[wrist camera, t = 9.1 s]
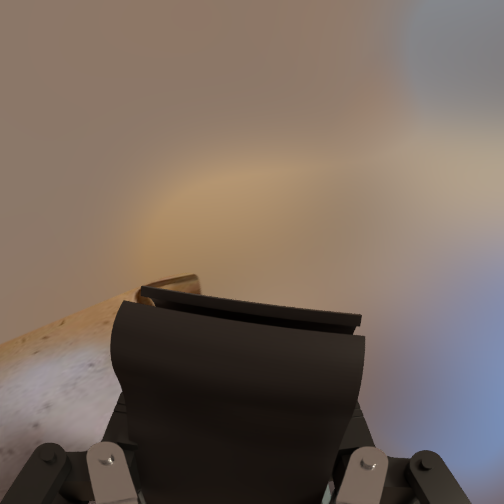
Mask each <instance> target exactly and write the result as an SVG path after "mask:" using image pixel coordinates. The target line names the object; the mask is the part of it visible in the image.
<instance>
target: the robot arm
mask: <svg viewBox="0 0 504 504" xmlns="http://www.w3.org/2000/svg"><path fill="white" fill-rule="evenodd" d="M138 449H139V448H138V443H135V442H132V441H130V440H129V437H128V424H127V411H126V404H125V399H124V395H123V392H122V393H121V394H120V396H119V399H118V401H117V405H116V406H115V409H114V412H113V414H112V416H111V418H110V421H109V424H108V426H107V429H106V431H105V434H104V436H103V439H102V441H101V442H99V443H96V444H95V445H93V446H92V447H91V448H90V449H89V450H88V451H85V452H65V451H64V449H63V448H62V447H61V446H60V445H58V444H55V443H45V444H42V445H40V446H39V447H37V448H36V450H35V451H34V452H33V454H32V455H31V457H30V458H29V460H28V461H27V463H26V464H25V466H24V467H23V469H22V470H21V472H20V473H19V475H18V476H17V478H16V479H15V481H14V482H13V484H12V485H11V487H10V489H9V490H8V492H7V493H6V495H5V496H4V498H3V500H2V501H1V503H0V504H88V503H89V501H96V504H147V502H146V499H145V497H144V494H143V492H142V490H141V488H140V487H141V482H140V478H139V473H138V468H137V463H136V458H135V453H134V452H133V451H134V450H138ZM329 481H333V482H334V486H335V489H334V491H333V493H332V496H331V498H330V501H329V504H471V503H470V501H469V499H468V497H467V496H466V494H465V493H464V491H463V490H462V488H461V487H460V485H459V484H458V482H457V481H456V479H455V478H454V476H453V475H452V473H451V472H450V470H449V469H448V467H447V466H446V465H445V463H444V461H443V460H442V458H441V457H440V456H439V455H438V454H437V453H435V452H432V451H428V450H423V451H419V452H417V453H415V454H414V455H413V456H412V458H411V459H408V458H393V457H389V456H386V455H385V453H384V452H382V451H381V450H380V449H378V448H376V447H375V445H374V443H373V439H372V437H371V434H370V431H369V429H368V426H367V424H366V421H365V419H364V417H363V413H362V411H361V410H360V405H359V403H358V400H357V403H356V406H355V410H354V413H353V415H352V418H351V420H350V422H349V424H348V427H347V429H346V431H345V434H344V436H343V439H342V442H341V444H340V447H339V450H338V453H337V456H336V460H335V463H334V466H333V469H332V473H331V476H330V479H329Z"/></svg>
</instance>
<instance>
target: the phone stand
mask: <svg viewBox="0 0 504 504" xmlns="http://www.w3.org/2000/svg"><path fill="white" fill-rule="evenodd" d="M141 296H144V297H149V298H151V299H152V301H153V302H154V304H155V306H156V307H154V306H149V305H144V304H139V303H134V302H129V301H125V300H124V301H123V302H122V304H121V306H120V308H119V310H118V312H117V315H116V318H115V321H114V324H113V329H112V334H111V344H110V352H111V361H112V366H113V369H114V372H115V374H116V376H117V378H118V380H119V383H120V385H121V388H122V391H123V395H124V399H125V404H126V411H127V424H128V437H129V440H130V441H132V442H135V443H138V448H139V449H138V450H134V451H133V452H134V453H135V458H136V463H137V468H138V473H139V478H140V482H141V487H140V488H141V490H142V492H143V494H144V497H145V499H146V502H147V504H321V502H322V500H323V497H324V494H325V491H326V488H327V485H328V482H329V479H330V476H331V473H332V469H333V466H334V463H335V460H336V456H337V453H338V450H339V447H340V444H341V442H342V439H343V436H344V434H345V431H346V429H347V427H348V424H349V422H350V420H351V418H352V415H353V413H354V410H355V406H356V403H357V399H358V395H359V391H360V386H361V380H362V374H363V366H364V354H365V336H359V335H353V333H354V330H355V328H356V326H360V323H361V317H362V315H360V314H351V313H341V312H331V311H322V310H311V309H303V308H295V307H286V306H277V305H270V304H262V303H254V302H246V301H240V300H232V299H225V298H218V297H212V296H205V295H198V294H192V293H185V292H179V291H173V290H167V289H161V288H155V287H149V286H141Z"/></svg>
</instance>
